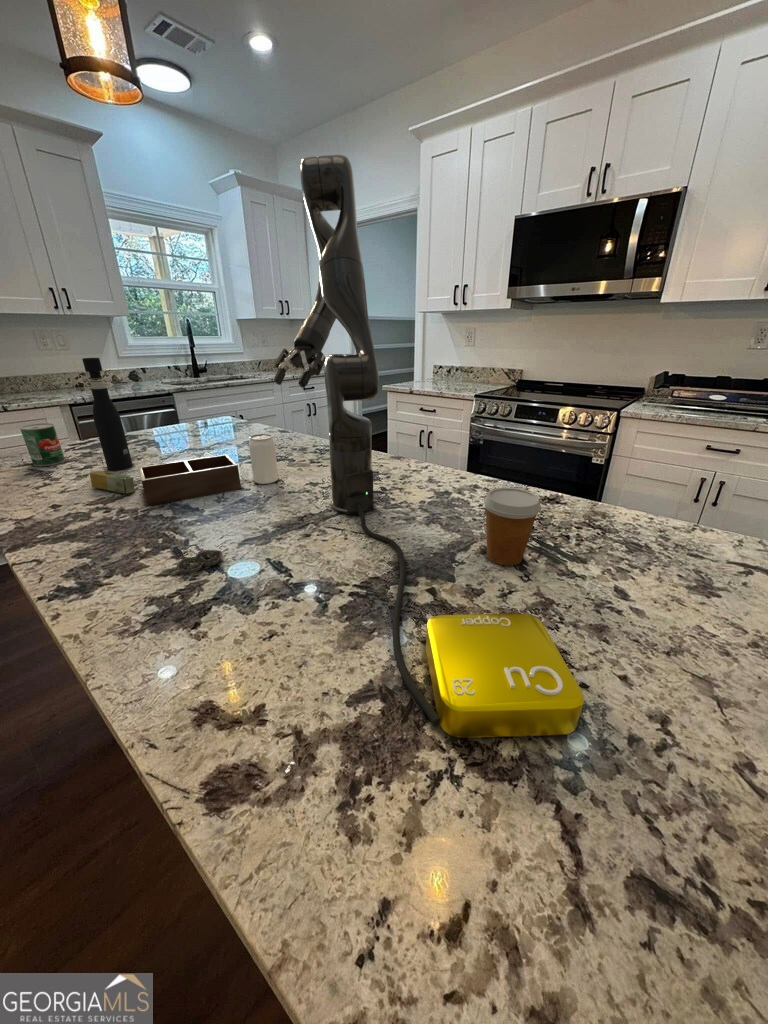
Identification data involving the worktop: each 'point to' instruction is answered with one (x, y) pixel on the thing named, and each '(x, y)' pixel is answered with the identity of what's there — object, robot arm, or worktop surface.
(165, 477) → the caddy
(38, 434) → the canned tomato
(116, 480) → the medication box
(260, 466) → the can
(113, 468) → the black water bottle
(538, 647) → the element tile
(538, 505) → the disposable coffee cup
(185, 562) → the corroded twin loop
